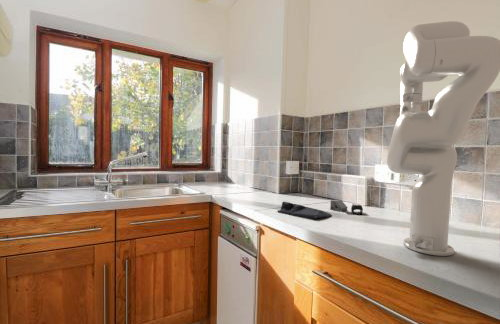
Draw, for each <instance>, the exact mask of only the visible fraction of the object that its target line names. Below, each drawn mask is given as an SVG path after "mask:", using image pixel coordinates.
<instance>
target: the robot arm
mask: <svg viewBox="0 0 500 324" xmlns="http://www.w3.org/2000/svg"><path fill="white" fill-rule="evenodd" d="M470 32H471V31H470V29H469V27H468V25H466V24H465V23H463V22H461V21H442V22H441V21H440V22H431V23H430V22H429V23H420V24H417V25H415V26H413V27H411V28H410V29H409V30H408V32H406V35H405V37H404V40H403V45H402V50H403V56H404V59H405V61H406V62H403V64H402V65H401V66H400V69H399V77H400V83H399V85H400V86H399V106H400V108H399V109H400V110H399V111H400V112H399V116H398V118H397V119H396V121H395V123H394V127H393V132H392V135H391V140H390V143H389V148H388V152H387V155H386V156H387V159H386V164H387V167H388V169H389V170H390V171H391V172H392V173H395V174H405V175H406V174H408V175H421V177H420V178H418V179H417V181H416V182H415V183H414V184H413V186H412V190H411V200H410V201H411V203H410V204H411V205H410V224H409V237H407V238H404V239H403V243H402V244H403V246H405V248H407V249H409V250H412V251H415V252H418V253H422V254H426V255H431V256H436V257H437V256H439V257H447V256H448V257H449V256H452V255H453V254H455V249H454V248H453V246H451V245H450V244H448V243H449V228H450V227H449V226H450V209H451V198H452V197H451V194H452V193H451V192H452V184H453V183H452V182H453V177H454V173H455V170H456V165H457V161H458V152H457V150H456V148H454V146H455V145H456V144H457V143H458V142H459V141H460V140H461V138H462V137H463V135H464V133H465V130H466V128H467V127H468V124H469V122H470V119H471V118H472V116H473V113H474V111H475V109H476V107H477V105H478V103H479V102H480V101H481V100H482V98H483V97H484V95H485V94H486V93H487V92H488V90H489V89H490V88H491V86H492V85H493V84H494V82H496V79H497V78H498V76H499V74H500V39H499V38H498V37H497V38H496V37H494V36H489V35H488V36H487V35H471V33H470ZM448 76H458V77H457V78H456V79H454V80H453V81H451V82H450V83H448V84H447V85H446V86H445V87H444V88H443V89H441V90H440V91H439V92H438V93H437V95H436V96H435V99H434V100H433V104H432V107H431V109H430V110H426V111H422V109H421V108H422V107H421V105H422V104H423V89H424V83H427V82H429V83H430V82H431V83H433V82H440V81H442V80H444V79H445V78H447V77H448Z"/></svg>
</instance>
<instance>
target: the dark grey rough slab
mask: <svg viewBox="0 0 500 324" xmlns="http://www.w3.org/2000/svg"><path fill="white" fill-rule="evenodd" d="M277 212H278V213H280V214H286V215H289V216H297V217H301V218H306V219H311V220H312V219H313V220H317V219H323V218H324V219H325V218H330V217H332V216H333V215H332V213H329V212H327V211H323V210H322V209H321V210H320V209H317V208H313V207H307V206H305V205H301V204H297V203H293V202H288V201H282V203H281V207H280V209H279V210H278V209H277Z"/></svg>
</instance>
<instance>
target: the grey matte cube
mask: <svg viewBox="0 0 500 324" xmlns="http://www.w3.org/2000/svg"><path fill="white" fill-rule="evenodd" d="M329 210H331V211H334V212H340V213H342V212H348V206H347V205H346V203H344V201H343V200H342V199H331V200H330V209H329Z"/></svg>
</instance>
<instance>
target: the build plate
mask: <svg viewBox="0 0 500 324" xmlns="http://www.w3.org/2000/svg"><path fill="white" fill-rule="evenodd" d="M350 210H351V211H344V213H345V214H346V215H349V216H369V214H368V213H366V212H363V211H364V210H363V206H362V204H353V203H352V205H351V209H350ZM357 210H359V211H357Z"/></svg>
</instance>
